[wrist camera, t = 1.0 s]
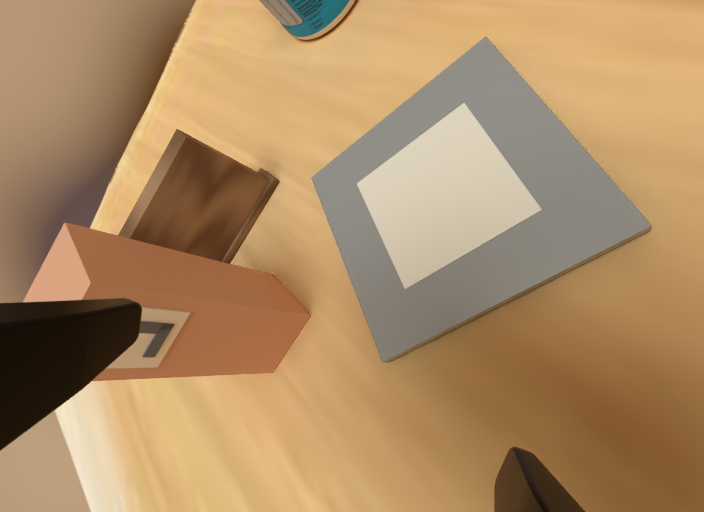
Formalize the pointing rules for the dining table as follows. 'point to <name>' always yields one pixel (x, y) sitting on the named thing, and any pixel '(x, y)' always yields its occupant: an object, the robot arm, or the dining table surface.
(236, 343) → the lettered block
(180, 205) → the screen
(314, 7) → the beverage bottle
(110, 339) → the robot arm
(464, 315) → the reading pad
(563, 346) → the dining table surface
